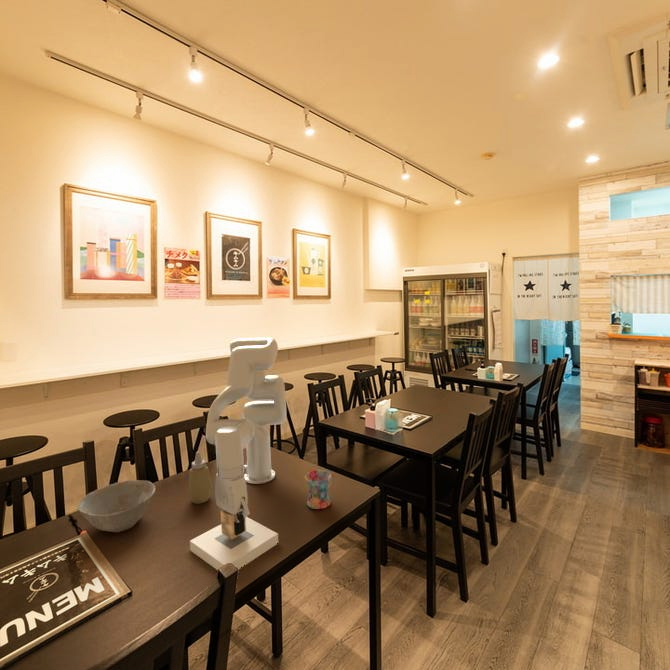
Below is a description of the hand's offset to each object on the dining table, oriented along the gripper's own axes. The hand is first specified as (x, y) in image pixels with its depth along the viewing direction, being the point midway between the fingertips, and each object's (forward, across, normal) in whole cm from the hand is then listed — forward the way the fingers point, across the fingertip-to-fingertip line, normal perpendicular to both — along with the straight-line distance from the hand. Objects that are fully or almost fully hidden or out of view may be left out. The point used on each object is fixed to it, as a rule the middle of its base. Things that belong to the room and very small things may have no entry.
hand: (233, 529), depth 115 cm
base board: (+5, 0, 0) cm, 5 cm away
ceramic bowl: (+6, -40, -16) cm, 43 cm away
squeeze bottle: (+6, -33, +9) cm, 35 cm away
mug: (+6, +4, +34) cm, 35 cm away
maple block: (+1, 0, 0) cm, 1 cm away
